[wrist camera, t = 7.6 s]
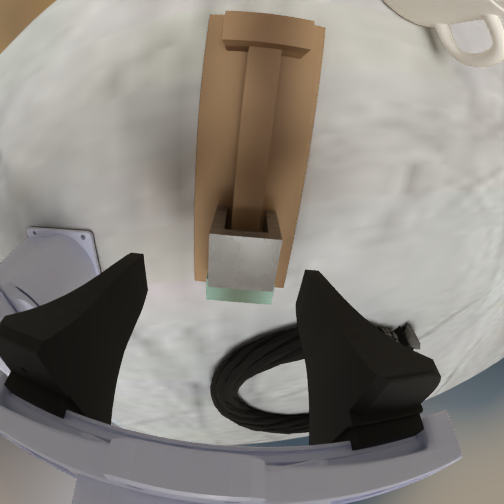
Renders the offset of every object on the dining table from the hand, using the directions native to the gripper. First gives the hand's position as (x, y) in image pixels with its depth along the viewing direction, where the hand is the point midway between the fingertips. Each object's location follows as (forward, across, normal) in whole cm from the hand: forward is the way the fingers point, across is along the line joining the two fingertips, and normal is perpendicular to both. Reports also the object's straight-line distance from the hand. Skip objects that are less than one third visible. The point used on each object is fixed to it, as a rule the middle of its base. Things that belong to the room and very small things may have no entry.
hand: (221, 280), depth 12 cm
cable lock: (+11, -13, +24) cm, 30 cm away
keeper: (+10, -1, +2) cm, 11 cm away
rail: (+10, -1, -3) cm, 11 cm away
